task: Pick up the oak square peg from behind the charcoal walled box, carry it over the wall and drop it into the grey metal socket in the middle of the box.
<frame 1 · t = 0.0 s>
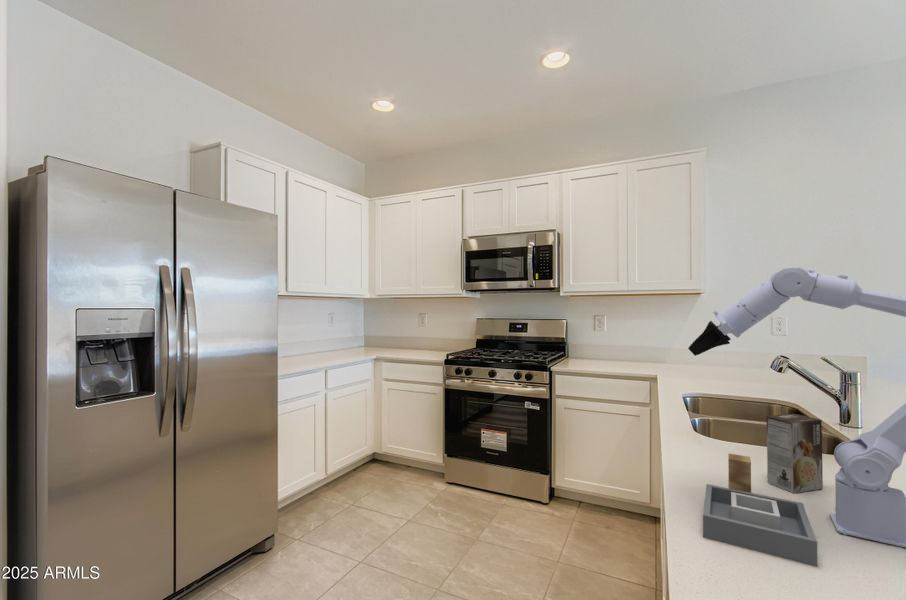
hand: (692, 350, 95), 32 cm above the counter, tool tilted 50°, fingers open, 7 cm apart
coffee box: (794, 486, 99), on the counter
peg: (739, 498, 93), on the counter
socket box: (754, 530, 80), on the counter
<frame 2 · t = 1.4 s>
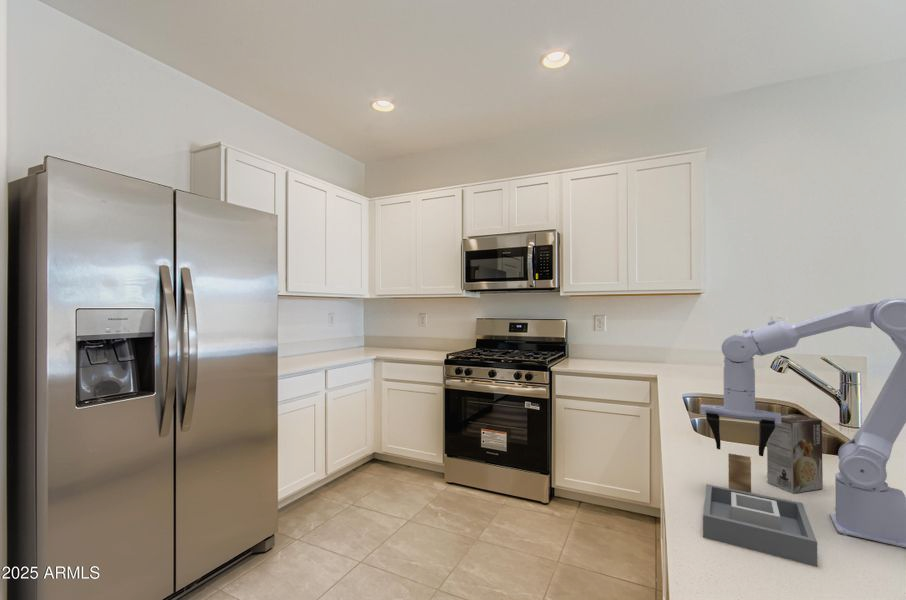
hand: (739, 451, 93), 10 cm above the counter, tool pointing down, fingers open, 7 cm apart
nothing on the counter moved.
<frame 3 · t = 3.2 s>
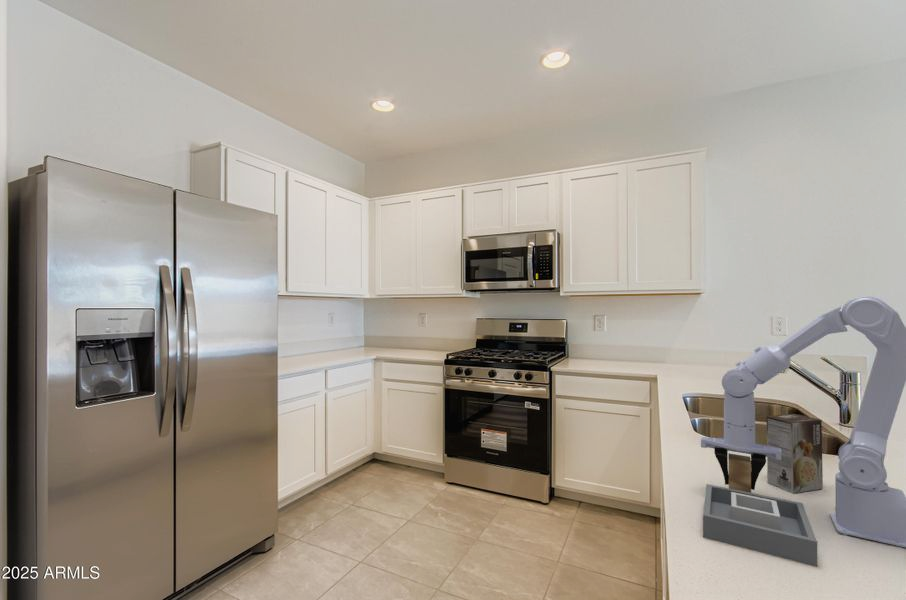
hand: (739, 485, 93), 3 cm above the counter, tool pointing down, fingers closed on peg, 4 cm apart
peg: (739, 498, 93), on the counter, touching gripper
everything else where it was.
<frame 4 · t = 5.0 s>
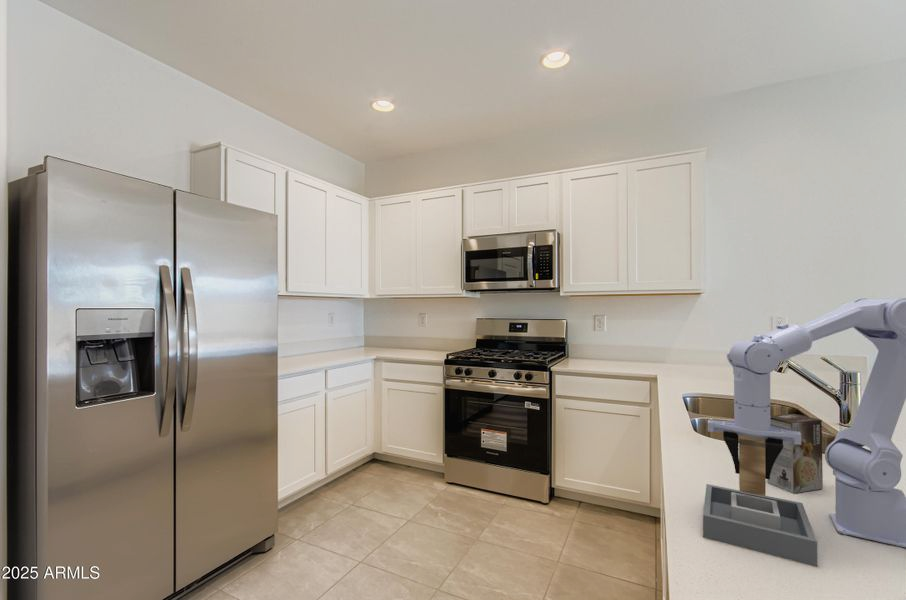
hand: (752, 474, 81), 10 cm above the counter, tool pointing down, fingers closed on peg, 4 cm apart
peg: (751, 489, 82), point 7 cm above the counter, touching gripper
everything else where it was.
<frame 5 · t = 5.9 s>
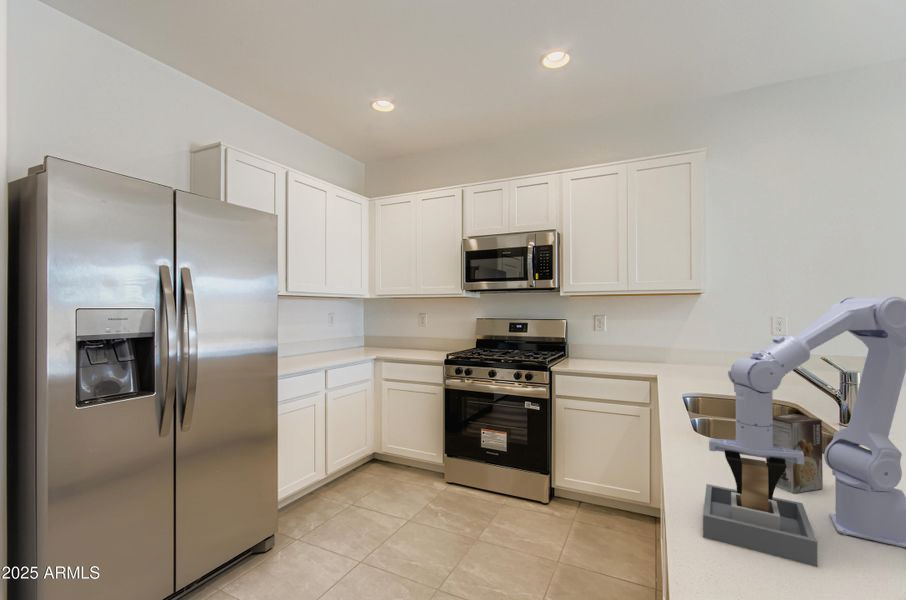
hand: (754, 494, 80), 7 cm above the counter, tool pointing down, fingers closed on peg, 4 cm apart
peg: (753, 510, 80), point 4 cm above the counter, touching gripper
everything else where it was.
when the fingers open (6 cm above the counter, at t = 6.8 s): peg drops 2 cm, resting on socket box.
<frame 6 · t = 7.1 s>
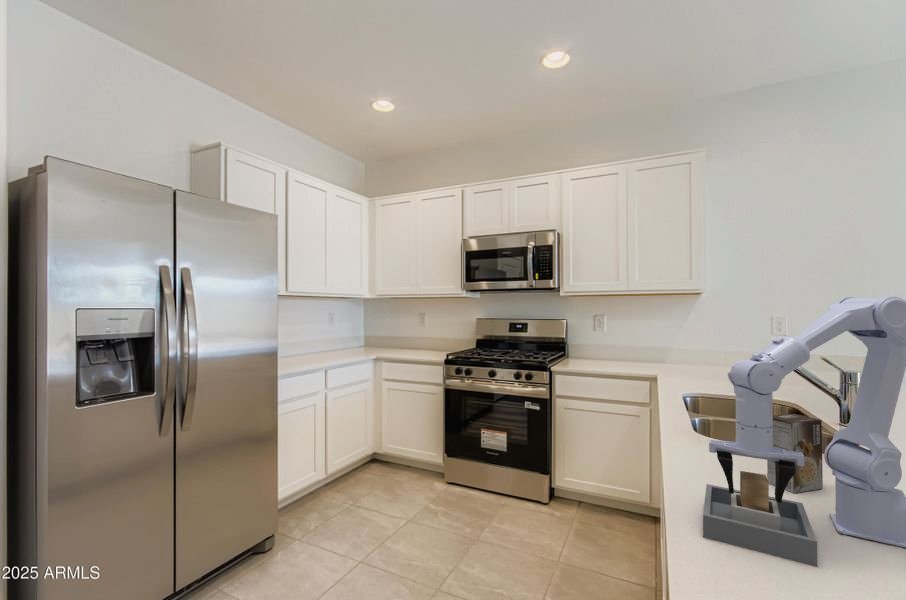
hand: (754, 496, 80), 6 cm above the counter, tool pointing down, fingers open, 7 cm apart
peg: (754, 524, 80), point 1 cm above the counter, touching socket box
everything else where it was.
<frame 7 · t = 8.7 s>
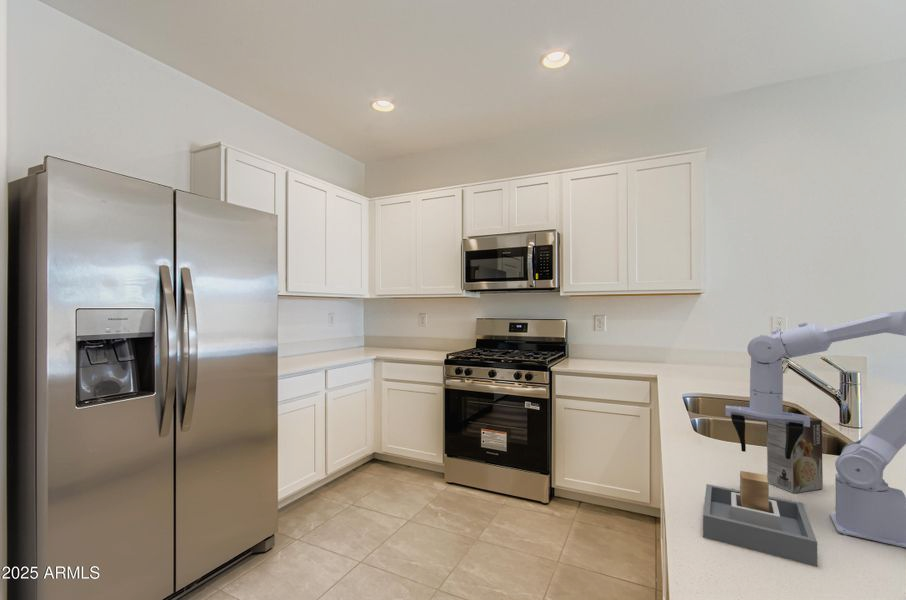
hand: (765, 453, 91), 10 cm above the counter, tool pointing down, fingers open, 7 cm apart
nothing on the counter moved.
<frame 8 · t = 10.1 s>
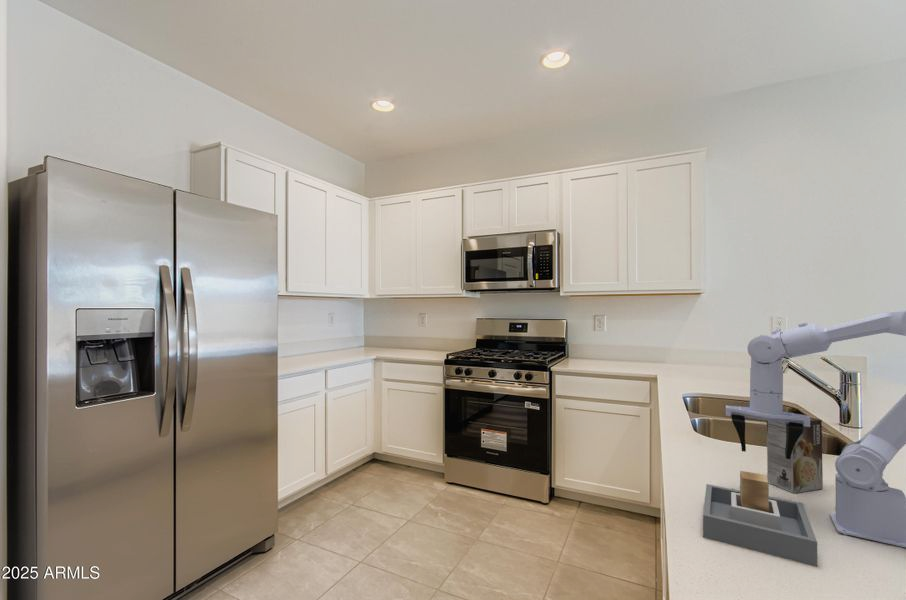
hand: (765, 453, 91), 10 cm above the counter, tool pointing down, fingers open, 7 cm apart
nothing on the counter moved.
at the end: peg 0.3 cm off-centre on the socket box, point 1.0 cm above the socket box's base; peg tilted 0°; the gripper is holding nothing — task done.
